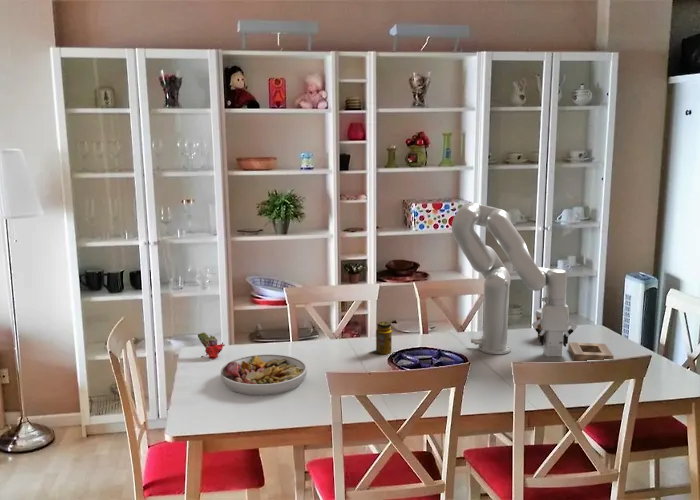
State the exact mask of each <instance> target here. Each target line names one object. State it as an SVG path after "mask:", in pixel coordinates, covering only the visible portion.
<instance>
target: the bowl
mask: <svg viewBox="0 0 700 500" xmlns="http://www.w3.org/2000/svg"><path fill="white" fill-rule="evenodd" d="M307 373H308V366H307V364H306V362H304V361H302V360H301V359H299V358H296V357H293V356H290V355H284V354H276V353H274V354H267V353H266V354H264V353H263V354H254V355H247V356H243V357H239V358H235V359H233V360H231V361H228V362H227V363H225V364H224V365H223V366H222V367H221V369H220V379H221V382H222V383H223V385H225V386H226V388H228V389H229V390H231V391H233V392H235V393H239V394H242V395H247V396H270V395H277V394H282V393H285V392H288V391H291V390H293V389H295V388H297V387H298V386H299V385H301V384H302V383H303V382H304V380H305V378H307V377H306V376H307Z"/></svg>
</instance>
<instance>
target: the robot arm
mask: <svg viewBox="0 0 700 500" xmlns="http://www.w3.org/2000/svg"><path fill="white" fill-rule="evenodd" d="M475 226H481V227H484V228H487V229H488V231H489V233H491V234H492V236H493V238H494V239H495V241H496V242H497V243H498V245H499V246H500V247H501V249H502V250H503V252H504V254H505V255H506V258H507V259H508V260H509V263H510V264H511V265H512V267H513V269H514V270H515V271H516V274H517V275H518V276H519V278H520V279H521V280H522V282H523V283H524V285H525V286H526V287H527V288H528V289H529V290H531V291H532V292H533V291H534V292H538V291H541V290H543V289H544V288H545V296H544V297H541V302H544V303H543V305H542V307H541V308H542V314H541V319H539V320H537V319H536V321H534V322H532V325H531V326H532V328H534V330H535V332H536V333H537V334H538V333H539V334H540V337H539V339H538V340H539V341H538V342H539V343H540V345H541V346H543V347H544V335H543V334H544V332H545V331H563V344H562V346H564V347H567V345H569V337H570V335H571V334H573V333H574V331H575V330H576V328H578V325H577V324H575V323H574V322H573V321H571V320H570V318H569V317H570V314H569V313H570V312H569V306H568V304H567V283H568V272H567V271H566V270H565V269H561V268H546V267H543V266H542V267H541V266H537V264H536V263H535V261H534V260H533V258H532V256H531V254H530V252H529V250H528V249H529V248H528V247H527V244H526V242H525V240H524V239H523V237H522V235H521V234H520V233H519V231H518V230H517V228H516V227H515V226H514V224H513V223H512V221H511V219H510V215H509V213H508V212H507V211H506V210H504V209H501V208H497V207H493V206H490V205H489V206H488V205H486V204H485V205H484V204H481V203H475V202H467V203H465V204H463V205H462V206H461V207H460V208H459V209H458V210H457V212H456V213H455V214H454V217H453V219H452V223H451V233H452V235H453V239H454V240H455V242H456V244H457V245H458V247H459V248H460V250H461V252H462V253H463V255H464V256H465V257H466V259H467V261H468V263H469V264H470V266H471V267H472V268H473V270H474V271H476V272H477V273H481V275H482V276H483V278H484V283H483V321H482V323H483V325H482V335H481V337H479V338H475V337H474V338H473V337H471V338H470V343H471V344H474V345H478V349H479V351H480V352H483V353H485V354H490V355H504V354H508V353H509V352H511V350H512V347H511V346H510V345H509V344H508V327H509V326H508V325H509V303H510V302H509V301H510V286H511V280H512V279H511V275H510V272H509V271H508V268H507V267H506V266H505V264H504V262H502V260H501V258H500V256H499V255H498V254H497V252H496V251H495V250H494V249H493V248H492V247H491V246H489V245H486V244H485V243H484V242H483V241H482V239H481V237H480V236H479V235H478V233H477V231H476V230H475ZM540 323H541V329H539V328H538V327H537V325H539V324H540ZM570 326H571V327H570ZM569 327H570V328H569Z"/></svg>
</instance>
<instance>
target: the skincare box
mask: <svg viewBox="0 0 700 500" xmlns="http://www.w3.org/2000/svg"><path fill="white" fill-rule="evenodd" d="M563 335H564V332H563V331H545V333H544V345H543V354H544V356H546V357H561V356H563V355H562V354H563Z"/></svg>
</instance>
